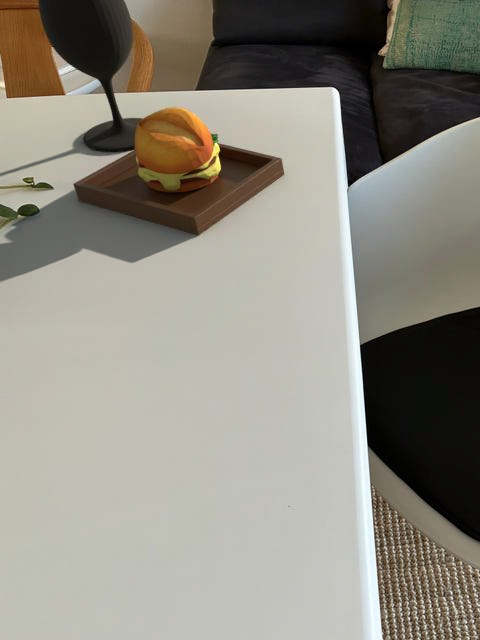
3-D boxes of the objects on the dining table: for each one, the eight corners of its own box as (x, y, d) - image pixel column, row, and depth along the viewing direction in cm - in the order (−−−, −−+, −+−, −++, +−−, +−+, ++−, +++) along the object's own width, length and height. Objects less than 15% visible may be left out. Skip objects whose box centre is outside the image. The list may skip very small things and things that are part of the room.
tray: (78, 200, 95) (72, 183, 94) (172, 146, 107) (168, 130, 105) (199, 235, 90) (194, 218, 88) (284, 174, 101) (281, 158, 99)
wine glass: (85, 157, 104) (30, -1, 91) (81, 127, 111) (29, -24, 98) (166, 144, 107) (123, -11, 94) (156, 115, 115) (116, -32, 102)
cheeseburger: (221, 152, 103) (208, 87, 95) (233, 206, 98) (219, 142, 90) (140, 162, 101) (120, 96, 93) (147, 218, 95) (126, 153, 87)
